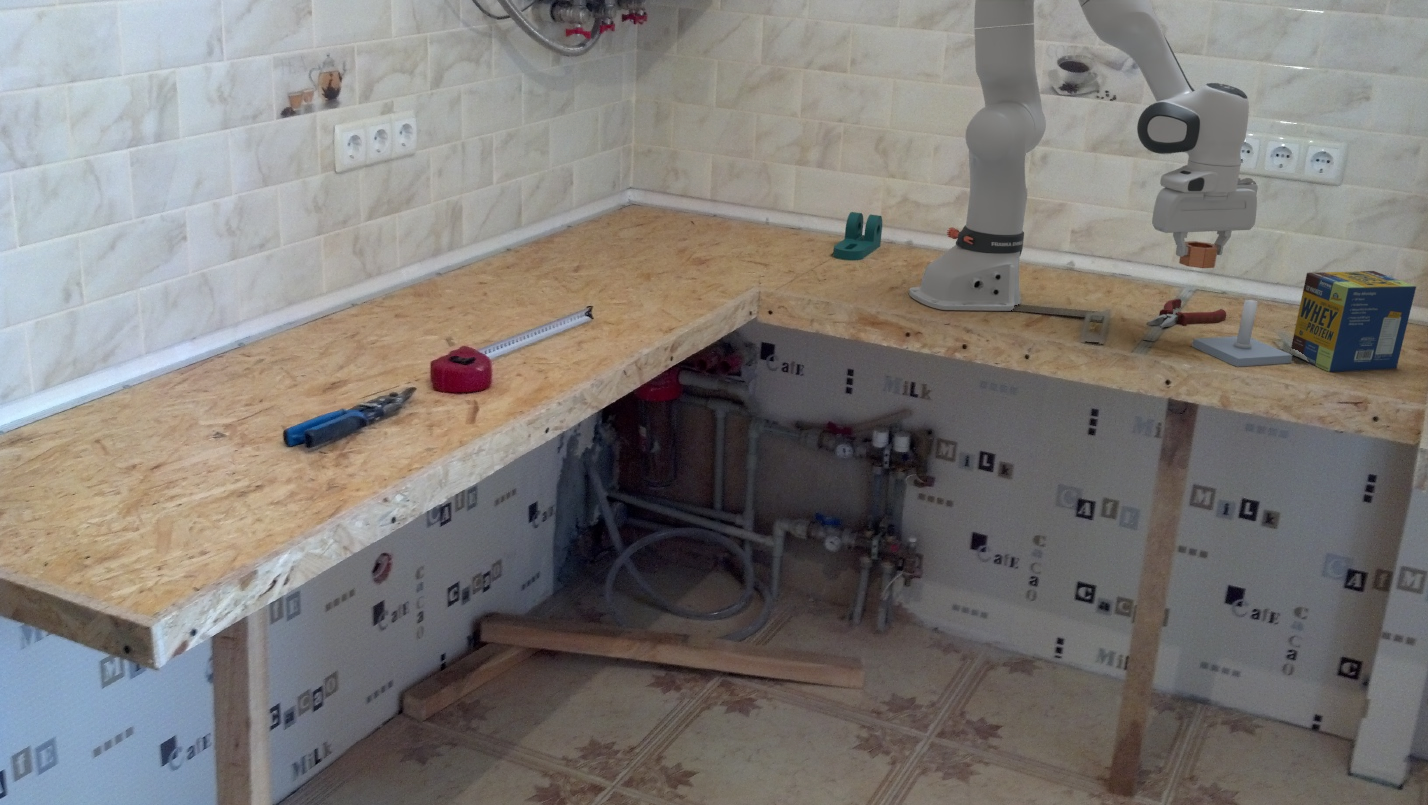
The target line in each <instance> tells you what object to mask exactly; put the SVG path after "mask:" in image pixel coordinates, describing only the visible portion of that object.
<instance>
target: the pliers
mask: <svg viewBox="0 0 1428 805" xmlns="http://www.w3.org/2000/svg"><path fill="white" fill-rule="evenodd" d="M1179 307H1180V308H1181V307H1182V299H1180V298H1175V299H1171V300H1168V301H1166V303H1165V304H1164V306H1163V308H1162V309H1160V311H1159V314H1158V316H1157V317H1154V318H1153V319H1151V320H1149V321H1148V322H1146V324H1145V325H1146V326H1159V328H1161V329H1162V328H1168V327H1173V326H1175V325H1180V326H1183V327H1187V325H1190V324H1191V325H1193V324H1194V325H1195V324H1196V325H1197V324H1214V323H1215V324H1217V323H1220V322H1222V321H1224V320H1226V317H1227V312H1226V309H1225V310H1224V309H1218V310H1214V311H1205V312H1203V311H1200V312H1193V311H1192V312H1182V311H1178V312H1175V314H1174V310H1173V309H1175V308H1178V309H1180V308H1179ZM1175 310H1176V309H1175ZM1160 324H1161V325H1160Z"/></svg>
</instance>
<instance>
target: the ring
mask: <svg viewBox="0 0 1428 805" xmlns="http://www.w3.org/2000/svg"><path fill="white" fill-rule="evenodd" d="M1185 244H1186V246H1188V247H1190V249H1189V255H1188V256H1184V257H1180V256H1179V261H1178V264H1180V265H1183V266H1186V267H1191V268H1196V269H1212V268H1213V269H1214V268H1215V266H1216V263H1217V256H1218V255H1217V252H1218V246H1217V245H1214V243H1210V242H1205V241H1197V240H1195V241H1194V240H1193V241H1190V240H1189V241H1185Z"/></svg>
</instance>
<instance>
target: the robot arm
mask: <svg viewBox="0 0 1428 805" xmlns="http://www.w3.org/2000/svg"><path fill="white" fill-rule="evenodd" d="M974 1H975V2H974V3H975V4H974V21H973V22H974V58H975V60H974V61H975V71H976V75H977V77H978V79H979V81H980V86H981V89H982V94H983V99H984V107H982V108H981V109H979V110H978V111H977V112H976V113H975V115H974V116H972V118H971V119H970V121H969V122H968V124H967V126H966V128H965V144H966V145H967V146H966V147H967V149H968V161H969V162H968V164H969V183H970V184H969V185H970V186H969V196H968V204H967V205H968V206H967V211H966V212H967V214H966V222H965V225H964V226H963V227H962V229H961V231H960V230H959V229H958V228H954V227H949V228H948V229H947V231H946V235H947V237H948V238H951V239H953V240H956V241H955V245H954V246H951V248H949V249H948V250H946V251H945V252H944V253H942V255H939V257H937V258H935V259H933V261H931V262H929V263H928V264H927V266H926V267H925V269H924V272H923V274H922V279H921V281H920V286H912V287H909V291H908V295H909V296H910V298H912V299H914V300H915V301H917V302H918V303H920V304H922V305H925V306H927V307H930V308H934V309H937V310H941V311H943V310H944V311H987V312H988V311H995V312H997V311H998V312H1001V311H1002V312H1011V310H1012V309H1013V308H1014V309H1015V307H1014V305H1017V306H1018V304H1019V305H1021V303H1022V296H1021V289H1020V288H1021V287H1020V257H1021V255H1022V251H1023V250H1024V249H1023V247H1024V241H1025V240H1024V239H1025V232H1024V231H1023V230H1024V229H1023V228H1024V223H1025V222H1024V221H1025V214H1026V207H1027V200H1028V189H1027V184H1026V164H1025V162H1026V155H1027V154H1029V152H1032V151H1034V149H1035V148H1036V147H1037V146H1038V145H1039V143H1040V142H1041V140H1042V138H1043V137H1044V135H1045V132H1046V128H1047V121H1046V117H1045V114H1044V112H1043V106H1042V100H1041V94H1040V93H1041V92H1040V89H1039V83H1038V77H1037V70H1036V61H1035V60H1036V55H1035V53H1036V52H1035V51H1036V50H1035V49H1036V48H1035V12H1034V11H1035V10H1034V8H1035V4H1034V3H1035V0H974ZM1077 1H1078V3H1079V6H1080V8H1081V10H1082V14H1083V15H1084V17H1085V18H1086V21H1087V22H1088V24H1089V26H1090V28H1091V29H1092V31H1093V32H1094V33H1095V34H1096V37H1098V38H1099V40H1101V41H1102V42H1103V43H1106V44H1108V45H1110V46H1111V47H1112V46H1113V48H1116V49H1118V50H1119V51H1122V52H1123V53H1125V54H1126V55H1127V56H1128V57H1130V58H1131V59H1132V60H1133V61H1134V62H1135V64H1136V65H1137V66H1138V68H1139V69H1140V72H1141V74H1142V75H1143V77H1144V79H1145V81H1146V83H1147V85H1148V88H1149V89H1150V91H1151V93H1152V95H1153V97H1154V99H1155V102H1154V103H1152V104H1150V105H1149V106H1147V107H1146V108H1145V109H1144V110H1143V111H1142V113H1141V114H1140V116H1139V118H1138V120H1137V126H1136V128H1137V129H1136V130H1137V136H1138V139H1139V141H1140V142H1141V144H1142V145H1143V147H1144V148H1145V149H1147V150H1148V151H1150V152H1152V153H1155V154H1158V155H1172V154H1176V153H1177V154H1178V153H1185V154H1187V155H1188V157H1187V165H1183V166H1180V167H1179V168H1176V169H1174V170H1171V171H1169V172H1166V173H1164V174H1162V175H1161V177H1160V186H1161V187H1163V188H1161V189H1160V190H1159V191H1158V193H1157V195H1156V198H1155V199H1156V200H1155V203H1154V207H1153V212H1152V218H1151V220H1152V221H1151V224H1152V226H1153V228H1154V230H1156V231H1159V232H1161V233H1165V234H1169V233H1171V234H1172V237H1173V239H1174V243H1175V245H1176V250H1175V255H1176V256H1177V257H1179V258H1180V257H1184V256H1188V255H1189V249H1190V247H1188V246H1186V244H1185V242H1186V240H1185V239H1187V238H1188V235H1189V233H1199V232H1200V233H1201V232H1202V233H1203V232H1205V233H1206V232H1216V234H1217V235H1218V236H1217V238H1216V239H1215V241H1214V243H1213V244H1214V245H1217V246H1218V252H1217V256H1222V255H1223V252H1224V246H1226V244H1227V242H1228V241H1229V240H1230V238H1232V236H1231V235H1232V231H1250V230H1251V229H1252V228H1253V227H1254V226H1255V225H1256V219H1257V218H1256V217H1257V209H1258V208H1257V206H1258V196H1257V195H1258V189H1259V188H1258V183H1257V182H1256V181H1254V180H1253V178H1252V177H1244V178H1241V177H1239V176H1240V171H1241V165H1242V159H1241V151H1242V149H1243V148H1242V147H1243V145H1244V143H1245V140H1246V136H1247V130H1248V124H1249V114H1250V112H1249V111H1250V110H1249V108H1250V106H1249V104H1250V103H1249V98H1248V95H1247V94H1246V93H1245V92H1244V91H1243V90H1241V89H1240V88H1237V87H1234V86H1232V85H1228V84H1224V83H1218V82H1211V83H1206V84H1204V85H1203V86H1201V87H1199V88H1197V89H1194V87H1192V85H1191V84H1190V82H1189V80H1188V78H1187V76H1186V74H1185V72H1184V71H1183V69H1182V66H1181V64H1180V63H1179V61H1178V58H1177V56H1176V55H1175V53H1174V51H1173V49H1172V47H1171V45H1170V43H1169V41H1168V40H1167V37H1166V36H1165V34H1164V31H1163V30H1162V26H1161V24H1160V22H1159V20H1158V18H1157V15H1156V14H1155V11H1154V8H1153V6H1152V5H1153V4H1152V3H1151V0H1077ZM1012 311H1013V310H1012Z"/></svg>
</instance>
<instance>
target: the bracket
mask: <svg viewBox="0 0 1428 805" xmlns="http://www.w3.org/2000/svg"><path fill="white" fill-rule="evenodd" d="M882 217H883V216H882V215H876V214H869V216H868V217H867V219H866V223H865V227H864V214H863V213H862V212H856V211H851V212H849V214H848V216H847V218H846V223H845V229H844V230H845V232H844V239H842V240H841V241H840V242H838V243H836V244H835V245H833V251H832V257H833V258H835V259H838V260H844V261H855V262H856V261H863V259H865V258H866V257H868V256H870V254H872V253H873V252H875V251H876V250H877V249H879V248H880V247H881V243H882V242H881V241H882V232H883V218H882ZM863 229H864V230H863ZM863 231H864V234H863Z"/></svg>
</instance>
